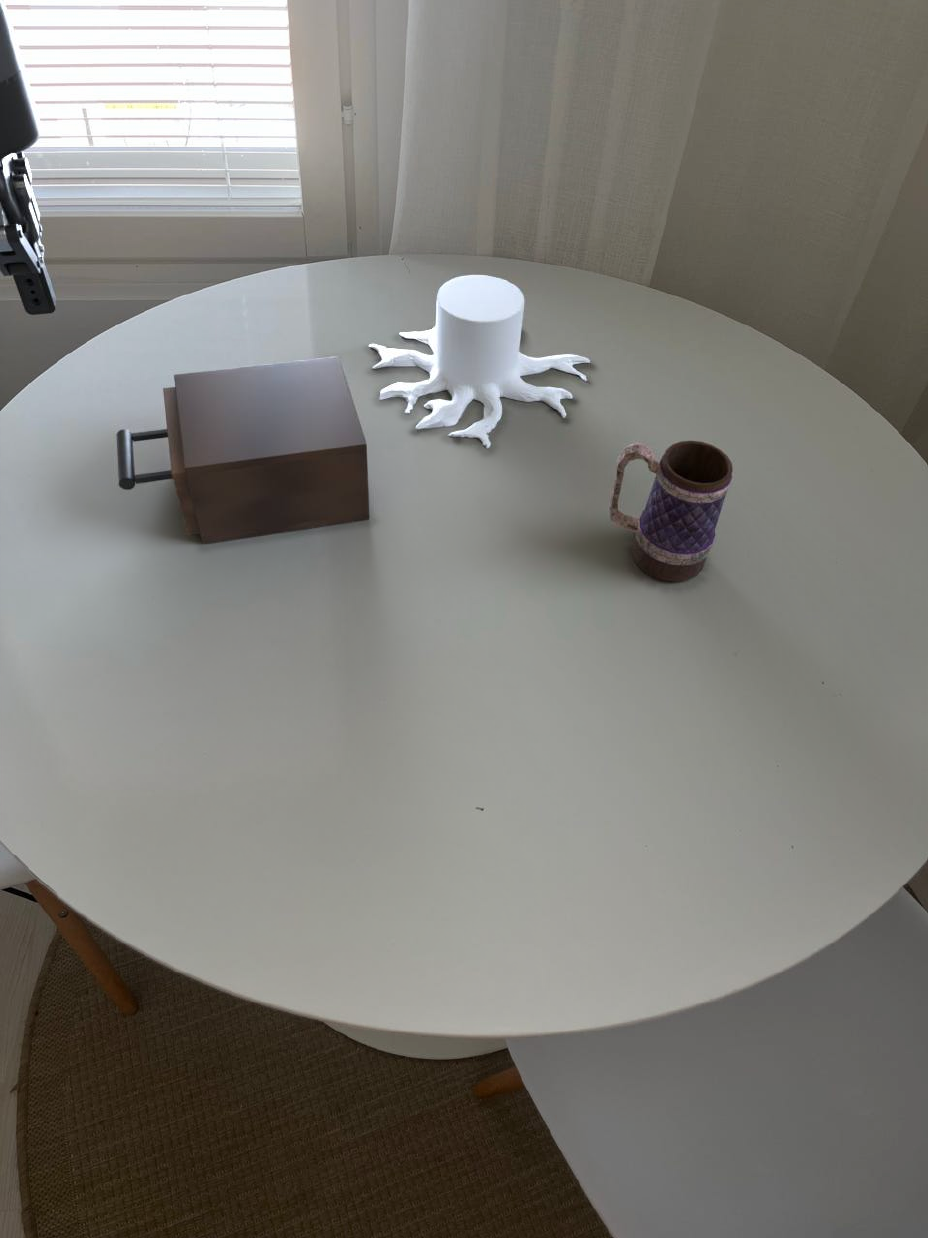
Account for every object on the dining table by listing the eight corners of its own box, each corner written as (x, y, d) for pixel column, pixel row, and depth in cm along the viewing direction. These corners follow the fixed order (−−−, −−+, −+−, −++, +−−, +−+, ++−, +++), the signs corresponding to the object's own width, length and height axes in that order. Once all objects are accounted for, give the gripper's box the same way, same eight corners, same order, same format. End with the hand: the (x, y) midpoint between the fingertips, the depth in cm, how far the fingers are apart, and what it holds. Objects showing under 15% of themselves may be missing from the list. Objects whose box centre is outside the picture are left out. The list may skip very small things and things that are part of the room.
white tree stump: (335, 353, 104) (330, 278, 97) (512, 297, 114) (519, 225, 107) (441, 466, 93) (444, 389, 86) (628, 393, 102) (645, 319, 95)
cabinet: (203, 544, 84) (184, 468, 77) (191, 450, 92) (173, 374, 85) (369, 519, 87) (366, 444, 80) (343, 431, 96) (338, 355, 89)
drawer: (131, 543, 82) (112, 482, 77) (127, 455, 90) (108, 394, 84) (343, 511, 86) (339, 451, 81) (321, 430, 94) (316, 370, 88)
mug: (709, 541, 88) (745, 443, 78) (699, 593, 83) (735, 495, 74) (606, 515, 89) (629, 416, 80) (590, 564, 85) (613, 465, 76)
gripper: (-95, 26, 60) (-5, 270, 74) (-121, 106, 52) (-15, 363, 66) (24, 22, 62) (91, 261, 75) (17, 99, 54) (94, 352, 67)
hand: (42, 308), depth 70 cm, fingers closed
